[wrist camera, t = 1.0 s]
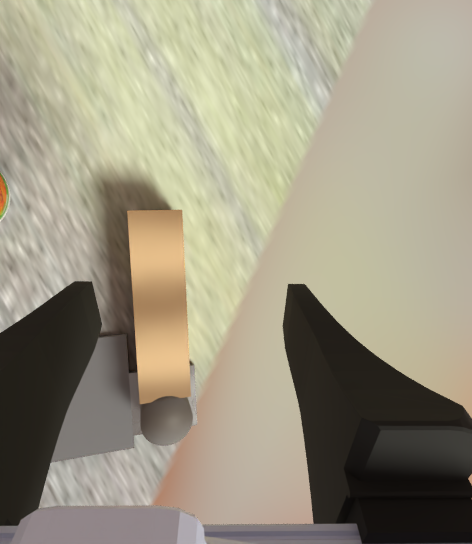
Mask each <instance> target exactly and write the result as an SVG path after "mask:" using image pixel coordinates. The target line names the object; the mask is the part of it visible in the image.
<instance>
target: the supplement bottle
mask: <svg viewBox="0 0 472 544" xmlns="http://www.w3.org/2000/svg"><path fill="white" fill-rule="evenodd" d="M9 205H10V189H9V186H8V183H7V181H6V179H5V177H4V175H3V174H2V173H1V171H0V221H1V220H2V219H3V218H4V216H5V215H6V213H7V211H8V208H9Z"/></svg>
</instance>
